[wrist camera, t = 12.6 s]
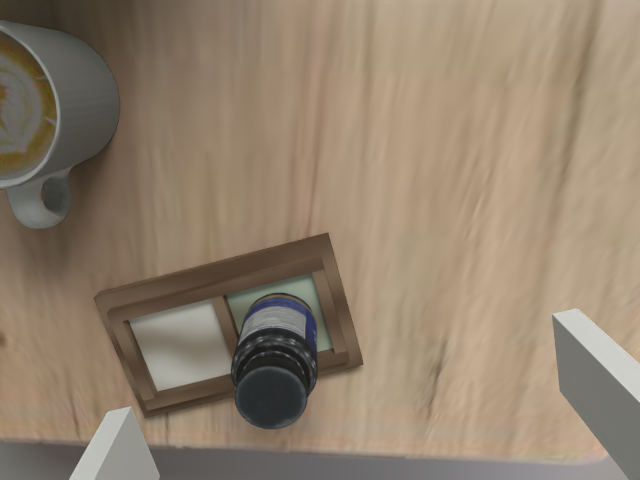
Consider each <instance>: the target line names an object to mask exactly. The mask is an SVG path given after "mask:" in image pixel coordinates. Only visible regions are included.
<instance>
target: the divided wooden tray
mask: <svg viewBox="0 0 640 480" xmlns="http://www.w3.org/2000/svg"><path fill="white" fill-rule="evenodd" d="M271 293H288V294H292V295H294V296H297V297H299V298H301V299H302V300H304V301H305V302H306V303H307V304H308V305H309V306H310V308H311V310H312V312H313V315H314V317H315V319H316V323H317V367H318V375H317V376H319V375H323V374H327V373H331V372H336V371H340V370H344V369H348V368H352V367H356V366H360V365H363V360H362V355H361V352H360V348H359V344H358V341H357V337H356V333H355V330H354V326H353V322H352V319H351V315H350V311H349V308H348V304H347V300H346V296H345V293H344V289H343V285H342V282H341V278H340V274H339V271H338V267H337V263H336V260H335V256H334V252H333V249H332V245H331V241H330V238H329V234H328V233H325V234H321V235H317V236H313V237H309V238H305V239H302V240H298V241H294V242H290V243H286V244H282V245H279V246H275V247H271V248H267V249H263V250H259V251H255V252H252V253H248V254H244V255H240V256H236V257H232V258H228V259H225V260H221V261H217V262H213V263H209V264H205V265H202V266H198V267H194V268H190V269H186V270H182V271H178V272H175V273H171V274H167V275H163V276H159V277H155V278H152V279H148V280H144V281H140V282H136V283H132V284H128V285H125V286H121V287H117V288H113V289H109V290H105V291H102V292H99V293H98V294H97V295H96V296H95V297H94V300H95V302H96V304H97V307H98V309H99V311H100V314H101V316H102V318H103V321H104V323H105V325H106V328H107V330H108V333H109V335H110V337H111V340H112V342H113V344H114V347H115V349H116V351H117V354H118V356H119V358H120V361H121V363H122V365H123V368H124V370H125V372H126V375H127V377H128V379H129V382H130V384H131V386H132V389H133V391H134V393H135V396H136V398H137V400H138V403H139V405H140V407H141V410H142V412H143V415H144V417H145V418H147V417H151V416H155V415H159V414H163V413H168V412H172V411H176V410H180V409H184V408H188V407H192V406H196V405H200V404H204V403H209V402H213V401H217V400H221V399H225V398H229V397H233V396H235V388H234V385H233V383H232V379H231V364H232V360H233V356H234V353H235V349H236V346H237V342H238V339H239V335H240V332H241V328H242V324H243V321H244V318H245V315H246V313H247V312H248V310H249V308H250V307H251V305H252V304H253V303H254V302H255V301H256V300H257V299H259V298H261V297H263V296H265V295H267V294H271Z"/></svg>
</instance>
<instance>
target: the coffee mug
mask: <svg viewBox="0 0 640 480" xmlns="http://www.w3.org/2000/svg"><path fill="white" fill-rule="evenodd" d="M119 111H120V99H119V93H118V89H117V85H116V82H115V79H114V77H113V75H112V73H111V71H110V69H109V68H108V66H107V65H106V63H105V61H104V60H103V59H102V58H101V56H100V55H99V54H98V53H97V52H96V51H95V50H94V49H92V48H91V47H90V46H89V45H87V44H86V43H85V42H83V41H82V40H80V39H79V38H77V37H75V36H73V35H70V34H68V33H65V32H62V31H58V30H53V29H47V28H42V27H37V26H31V25H26V24H21V23H15V22H10V21H4V20H0V189H6V192H7V196H8V199H9V202H10V206H11V209H12V211H13V213H14V215H15V217H16V218H17V219H18V221H19V222H20V223H21V224H23V225H24V226H26V227H28V228H32V229H41V228H49V227H52V226H55V225H57V224H59V223H60V222H61V221H63V220H64V219H65V218H66V216H67V214H68V213H69V211H70V207H71V201H72V195H71V186H70V180H69V173H70V171H71V168H72V167H73V166H75V165H77V164H78V163H80V162H83V161H85V160H87V159H90V158H91V157H93V156H95V155H96V154H97V153H99V152H100V151H101V150H102V149H103V148H104V147H105V146H106V145H107V144H108V142H109V141H110V139H111V138H112V136H113V134H114V132H115V130H116V127H117V124H118V120H119ZM42 186H43V188H44V192H45V203H44V202H43V200H42V195H41V191H42Z"/></svg>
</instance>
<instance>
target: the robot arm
mask: <svg viewBox="0 0 640 480" xmlns="http://www.w3.org/2000/svg"><path fill="white" fill-rule="evenodd" d="M552 318H553V328H554V338H555V347H556V357H557V367H558V376H559V386H560V392H561V393H562V394H563V395H564V397H565V398H566V399H567V401H568V402H569V403H570V404H571V406H572V407H573V408H574V410H575V411H576V412H577V413H578V415H579V416H580V417H581V418H582V420H583V421H584V422H585V424H586V425H587V426H588V427H589V429H590V430H591V431H592V433H593V434H594V435H595V436H596V438H597V439H598V440H599V442H600V443H601V444H602V445H603V447H604V448H605V449H606V451H607V452H608V453H609V454H610V456H611V457H612V458H613V460H614V461H615V462H616V463H617V465H618V466H619V467H620V468H621V470H622V471H623V472H624V474H625V475H626V476H627V477H628V479H629V480H640V364H639V363H638V362H637V361H636V360H635V359H634V358H632V357H631V356H630V355H629V354H628V353H627V352H626V351H625V350H624V349H622V348H621V347H620V346H619V345H618V344H617V343H616V342H615V341H613V340H612V339H611V338H610V337H609V336H608V335H607V334H606V333H605V332H603V331H602V330H601V329H600V328H599V327H598V326H597V325H596V324H594V323H593V322H592V321H591V320H590V319H589V318H588V317H587V316H586V315H584V314H583V313H582V312H581V311H580V310H579V309H578V308H577V309H573V310H568V311H563V312H559V313H554V314H552ZM159 477H160V475H159V473H158V470H157V468H156V465H155V463H154V460H153V458H152V455H151V453H150V451H149V448H148V446H147V443H146V441H145V438H144V436H143V434H142V431H141V429H140V426H139V424H138V421H137V419H136V417H135V414H134V412H133V409H132V407H126V408H122V409H117V410H112V411H108V412H107V414H106V415H105V417H104V419H103V421H102V422H101V424H100V426H99V428H98V429H97V431H96V433H95V435H94V437H93V438H92V440H91V442H90V444H89V445H88V447H87V449H86V451H85V453H84V454H83V456H82V458H81V460H80V461H79V463H78V465H77V466H76V468H75V470H74V472H73V474H72V475H71V477H70V479H69V480H159Z"/></svg>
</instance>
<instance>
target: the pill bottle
mask: <svg viewBox="0 0 640 480" xmlns="http://www.w3.org/2000/svg"><path fill="white" fill-rule="evenodd" d="M317 375H318V367H317V323H316V319H315V317H314V315H313V312H312V310H311V308H310V306H309V305H308V304H307V303H306V302H305V301H304V300H302V299H301V298H299V297H297V296H294V295H292V294H288V293H271V294H267V295H265V296H263V297H261V298H259V299H257V300H256V301H255V302H254V303H253V304H252V305H251V307H250V308H249V310H248V312H247V313H246V315H245V318H244V321H243V324H242V328H241V332H240V335H239V339H238V342H237V346H236V349H235V353H234V356H233V360H232V364H231V379H232V383H233V385H234V388H235V403H236V406H237V409H238V411H239V412H240V414H241V415H242V416H243V418H244V419H246V420H247V421H248V422H249V423H251V424H253V425H255V426H257V427H260V428H264V429H279V428H283V427H286V426H288V425H291V424H292V423H294V422H295V421H296V420H297V419H298V418H299V417H300V416H301V415H302V413H303V412H304V410H305V407H306V403H307V398H308V396H309V395H310V394H311V392H312V390H313V389H314V386H315V384H316V380H317Z"/></svg>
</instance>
